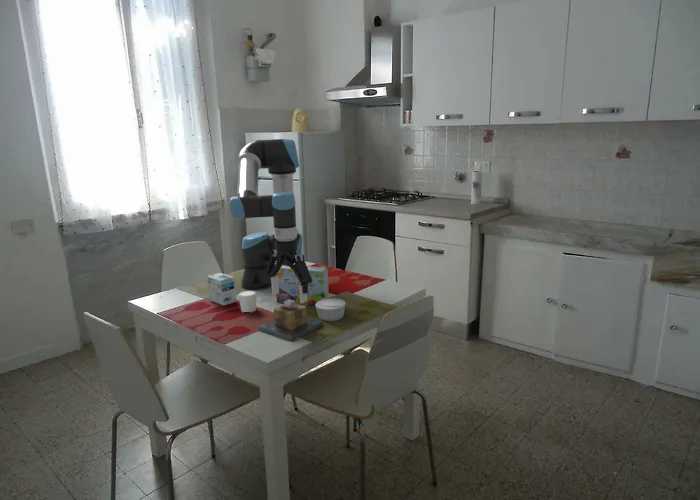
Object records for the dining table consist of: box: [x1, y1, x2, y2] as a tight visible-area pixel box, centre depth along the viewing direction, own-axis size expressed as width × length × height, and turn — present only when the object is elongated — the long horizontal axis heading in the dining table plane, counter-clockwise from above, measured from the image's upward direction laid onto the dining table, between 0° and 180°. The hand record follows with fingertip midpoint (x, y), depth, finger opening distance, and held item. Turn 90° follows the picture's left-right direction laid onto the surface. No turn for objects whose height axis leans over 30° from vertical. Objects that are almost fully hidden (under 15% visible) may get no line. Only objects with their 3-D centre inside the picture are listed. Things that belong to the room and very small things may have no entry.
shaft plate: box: [258, 299, 324, 342], centre depth 168 cm, size 16×16×10 cm
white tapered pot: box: [237, 290, 257, 313], centre depth 186 cm, size 7×7×7 cm
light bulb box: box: [206, 272, 237, 307], centre depth 196 cm, size 11×7×11 cm, turn 47°
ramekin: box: [315, 297, 346, 322], centre depth 178 cm, size 11×11×5 cm
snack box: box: [275, 265, 330, 307], centre depth 192 cm, size 21×6×15 cm, turn 72°
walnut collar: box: [273, 304, 308, 330], centre depth 168 cm, size 8×8×6 cm
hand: (289, 297), depth 167 cm, fingers open, 13 cm apart
